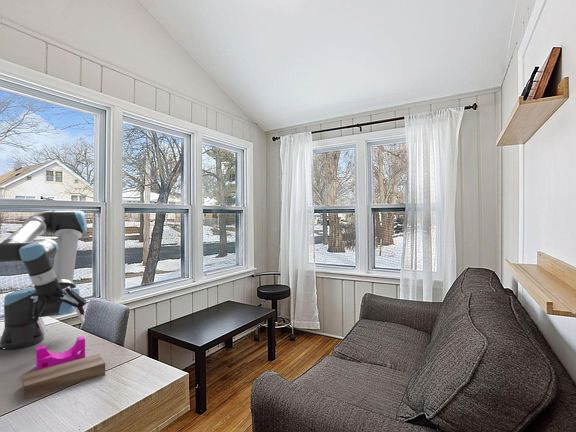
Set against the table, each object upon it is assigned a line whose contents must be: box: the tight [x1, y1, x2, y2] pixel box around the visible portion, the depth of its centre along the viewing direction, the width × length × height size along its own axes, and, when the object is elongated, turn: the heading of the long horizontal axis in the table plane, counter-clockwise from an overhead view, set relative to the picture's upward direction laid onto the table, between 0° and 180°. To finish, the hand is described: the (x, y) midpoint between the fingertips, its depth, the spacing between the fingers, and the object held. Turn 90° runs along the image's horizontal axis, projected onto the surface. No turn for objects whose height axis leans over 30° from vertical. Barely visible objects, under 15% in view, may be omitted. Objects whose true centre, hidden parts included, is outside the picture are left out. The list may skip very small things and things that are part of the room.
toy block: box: [35, 335, 86, 370], centre depth 120 cm, size 15×6×8 cm, turn 132°
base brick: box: [22, 353, 106, 400], centre depth 107 cm, size 10×22×4 cm, turn 132°
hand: (64, 327), depth 129 cm, fingers open, 13 cm apart
